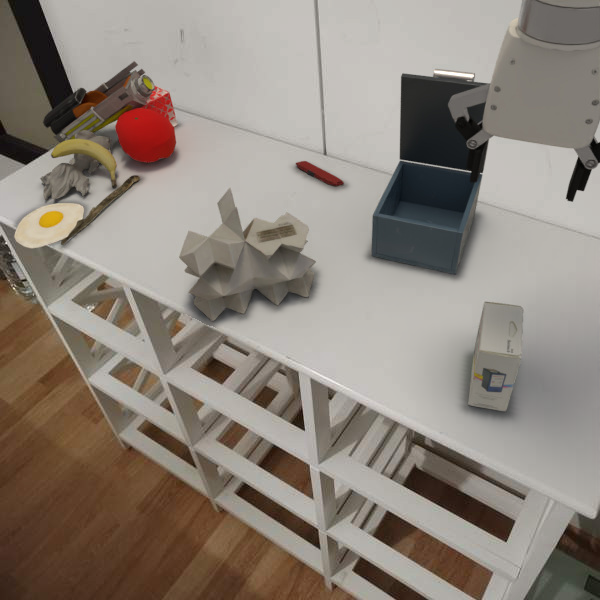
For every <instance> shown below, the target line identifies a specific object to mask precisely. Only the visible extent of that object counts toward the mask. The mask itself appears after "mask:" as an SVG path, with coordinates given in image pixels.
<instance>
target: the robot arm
mask: <svg viewBox="0 0 600 600" xmlns="http://www.w3.org/2000/svg"><path fill="white" fill-rule="evenodd" d="M498 51H499V52H498V55H497V59H496V62H495V66H494V68H493V73H492V75H491V79H490V82H489V84H486V85H483V86H480V87H477V88H474V89H470V90H467V91H464V92H461V93H458V94H455V95H453V96H452V97H451V99H450V101H449V103H448V107H449V110H450V112H451V115H452V117H453V119H454V121H455V127H456V129H457V130H458V131H459V132H460V134H461V135H462V136H463V137H464V139H465V140H466V141H467V146H468V148H469V154H468V159H467V165H466V170H470V171H469V172H471V176H470V182H471V183H475V182H477V180H478V177H479V175H480V174H481V173H480V172H481V170H482V166H483V161H484V156H485V151H486V146H487V141H488V139H489V140H490V139H491V138H493V137H494V136H495V137H498V138H503V139H508V140H514V141H519V142H526V143H532V144H537V145H544V146H550V147H557V148H562V149H563V148H564V149H573V150H574V151H575V153H576V155H577V159H576V162H575V165H574V168H573V171H572V174H571V176H570V179H569V183H568V186H567V191H566V195H565V200H566V201H567V202H572V203H573V202H574V200H575V197H576V194H577V192H578V191H579V192H584V191H585V189H586V187H587V185H588V181H589V179H590V176H591V173H592V171H593V170H594V169H596V168H597V167H598V166H599V164H600V141H598V140H597V138H596V133H597V130H598V128H599V125H600V0H521V4H520V9H519V14H518V17H516V18H514V19H512V20H511V21H510V22H509V25H508V26H507V29H506V31H505V34H504V37H503V39H502V42H501V45H500V48H499V50H498ZM485 102H486V105H485V110H484V115H483V120H482V121H480V122H479V123H478V124H477V123H476V122H475V120H474V119H473V118H472V117H471V115H470V114H469V113H468V112H467V108H468V107H471V106H475V105H478V104H481V103H485ZM466 170H465V171H466Z"/></svg>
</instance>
